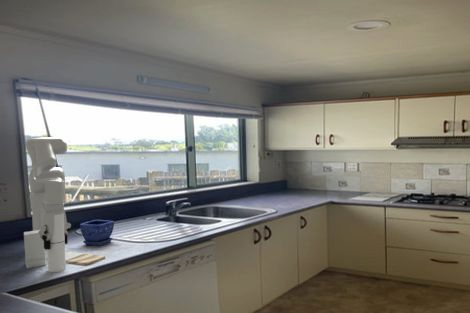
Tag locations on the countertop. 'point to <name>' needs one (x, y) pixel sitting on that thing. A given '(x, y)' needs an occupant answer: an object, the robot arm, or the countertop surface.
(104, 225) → the flower pot
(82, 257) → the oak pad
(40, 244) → the skincare box
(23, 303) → the countertop surface
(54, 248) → the cylindrical container
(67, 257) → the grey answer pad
